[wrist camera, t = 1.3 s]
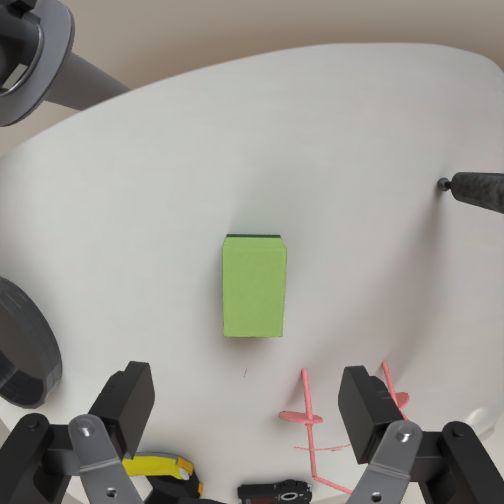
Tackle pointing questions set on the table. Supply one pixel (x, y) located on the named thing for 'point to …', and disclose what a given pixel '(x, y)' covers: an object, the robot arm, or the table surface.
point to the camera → (274, 492)
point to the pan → (25, 350)
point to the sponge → (253, 285)
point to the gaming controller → (165, 476)
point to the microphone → (477, 189)
